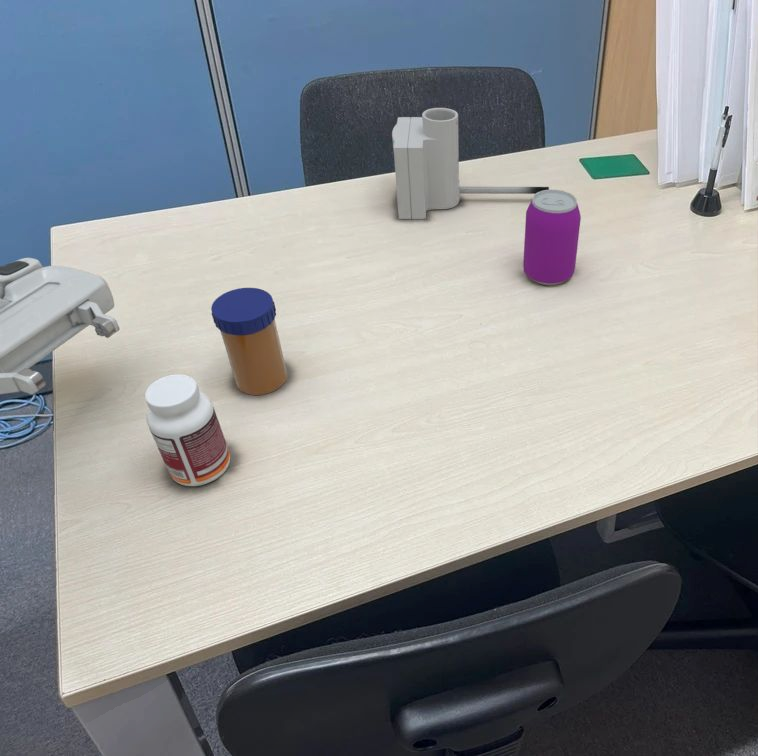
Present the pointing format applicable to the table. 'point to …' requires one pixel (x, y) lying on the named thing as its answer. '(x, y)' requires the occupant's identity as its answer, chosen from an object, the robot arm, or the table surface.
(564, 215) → the beverage can
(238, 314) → the lid
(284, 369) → the jar
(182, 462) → the pill bottle
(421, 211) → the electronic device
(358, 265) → the table surface
